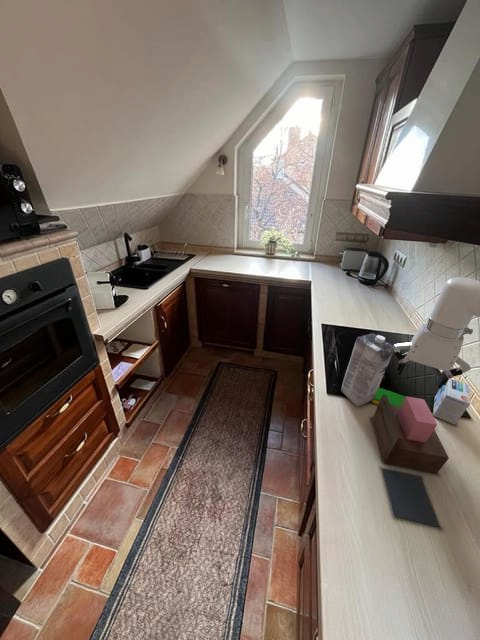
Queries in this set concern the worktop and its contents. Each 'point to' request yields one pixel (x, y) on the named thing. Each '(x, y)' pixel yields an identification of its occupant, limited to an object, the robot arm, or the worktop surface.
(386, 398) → the walnut shelf
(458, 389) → the light bulb box
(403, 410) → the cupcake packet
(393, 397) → the dish sponge
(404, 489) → the slate mat
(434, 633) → the worktop surface
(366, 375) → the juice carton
